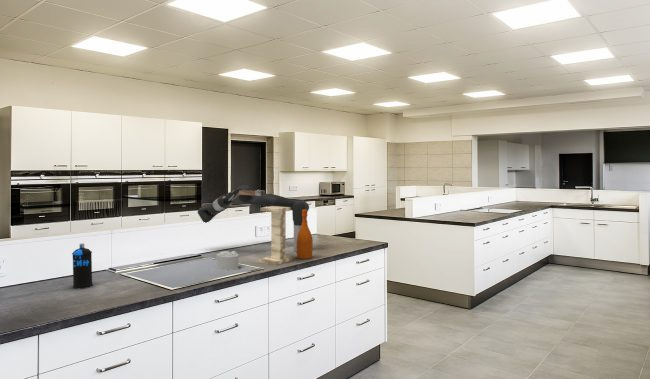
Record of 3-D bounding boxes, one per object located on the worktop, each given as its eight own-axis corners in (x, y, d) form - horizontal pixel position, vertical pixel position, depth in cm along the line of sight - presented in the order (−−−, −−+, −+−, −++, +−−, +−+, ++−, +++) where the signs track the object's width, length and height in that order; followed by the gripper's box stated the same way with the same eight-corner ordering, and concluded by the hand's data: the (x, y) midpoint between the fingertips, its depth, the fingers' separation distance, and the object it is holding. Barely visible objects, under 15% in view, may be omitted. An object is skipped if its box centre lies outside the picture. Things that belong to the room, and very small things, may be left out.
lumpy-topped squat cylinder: (229, 264, 256) (229, 249, 256) (243, 267, 247) (243, 252, 247) (214, 267, 249) (213, 251, 248) (227, 270, 240) (227, 254, 239)
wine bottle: (315, 257, 277) (315, 209, 275) (308, 260, 268) (308, 210, 266) (301, 255, 281) (301, 208, 279) (293, 258, 272) (293, 209, 270)
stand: (274, 257, 274) (274, 205, 272) (292, 260, 268) (292, 206, 266) (258, 262, 260) (258, 207, 259) (276, 265, 254) (276, 209, 252)
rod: (236, 194, 279) (236, 189, 279) (264, 195, 268) (264, 190, 268) (232, 194, 276) (232, 189, 275) (260, 195, 265) (260, 190, 265)
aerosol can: (77, 284, 211) (76, 242, 210) (95, 283, 212) (94, 242, 211) (69, 288, 203) (68, 245, 202) (88, 288, 204) (87, 245, 203)
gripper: (211, 198, 277) (230, 185, 270) (226, 197, 289) (244, 184, 282) (216, 209, 276) (234, 196, 268) (231, 207, 288) (249, 194, 280)
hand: (239, 190), depth 275 cm, fingers closed on rod, 2 cm apart
